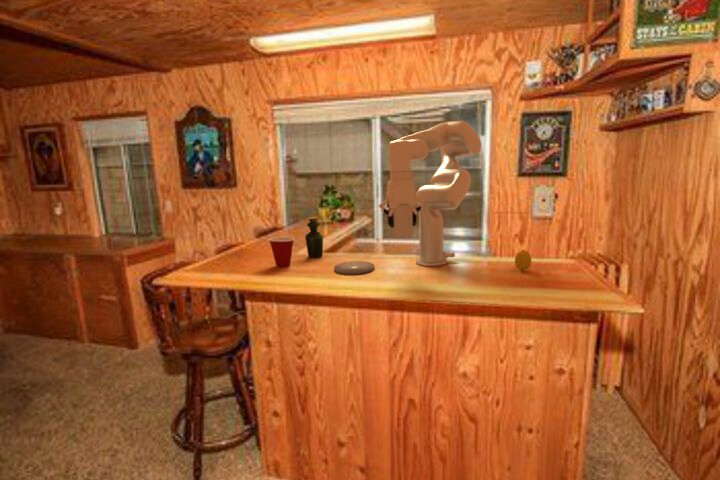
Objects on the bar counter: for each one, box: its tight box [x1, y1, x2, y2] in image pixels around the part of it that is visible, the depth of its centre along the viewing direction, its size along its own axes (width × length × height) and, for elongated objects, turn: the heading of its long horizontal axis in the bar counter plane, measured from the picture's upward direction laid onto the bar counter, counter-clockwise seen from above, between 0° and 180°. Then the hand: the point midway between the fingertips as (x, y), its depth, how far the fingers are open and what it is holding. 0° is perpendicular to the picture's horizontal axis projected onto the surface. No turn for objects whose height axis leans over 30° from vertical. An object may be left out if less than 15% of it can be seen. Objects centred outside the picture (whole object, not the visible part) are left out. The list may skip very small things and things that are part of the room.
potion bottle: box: [304, 216, 324, 259], centre depth 177 cm, size 8×8×18 cm
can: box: [391, 204, 414, 239], centre depth 140 cm, size 8×8×12 cm
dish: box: [333, 260, 375, 276], centre depth 155 cm, size 16×16×1 cm
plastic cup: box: [268, 236, 295, 268], centre depth 164 cm, size 11×11×12 cm
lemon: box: [514, 249, 532, 272], centre depth 142 cm, size 6×6×8 cm
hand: (402, 225), depth 141 cm, fingers closed on can, 7 cm apart
